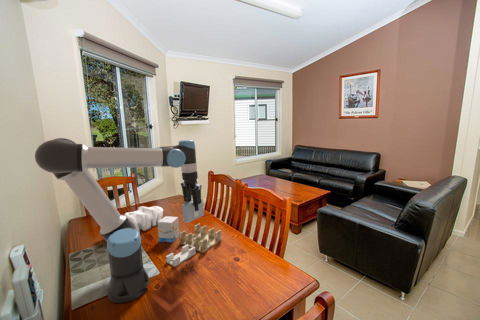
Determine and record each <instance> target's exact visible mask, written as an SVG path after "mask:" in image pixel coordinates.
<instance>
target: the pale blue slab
mask: <svg viewBox="0 0 480 320" xmlns="http://www.w3.org/2000/svg"><path fill="white" fill-rule="evenodd" d="M198 209H199V210H198V214H199V216H197V217H195V218H194V215H193V199H192V201H189V202H187V203H186V202H184V203H182V204H181V210H182V219H183V220H182V221H183V222H184V223H186V224H188V223H191V222H193V221H195V220H196V219H199V218H202V217H203V216H204V215H205V213H204V202H203V198H201V203H200V204H198Z"/></svg>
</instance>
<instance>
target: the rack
mask: <svg viewBox="0 0 480 320" xmlns="http://www.w3.org/2000/svg"><path fill="white" fill-rule="evenodd" d="M193 227H194V233H193V232H189V233H188V234H187V231H186V230H183V231H181V232H179V236H178V238H179V245H183V246H185V245H187V244H188V245H189V249H191V248H192V247H195V251H196V252H198V253H201V254H203V253H205V252H206V251H207V250H210V249H211V248H212V247H214V246H215V245H216V244H218V243H219V242H221V241H222V230H221V229H219V230H217V231H216V232H215V228H214V227H212V228H209V229H208V228H207V225H206V224H205V225H203V226H201V223H200V222H199V223H197V224H195V225H193Z"/></svg>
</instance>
